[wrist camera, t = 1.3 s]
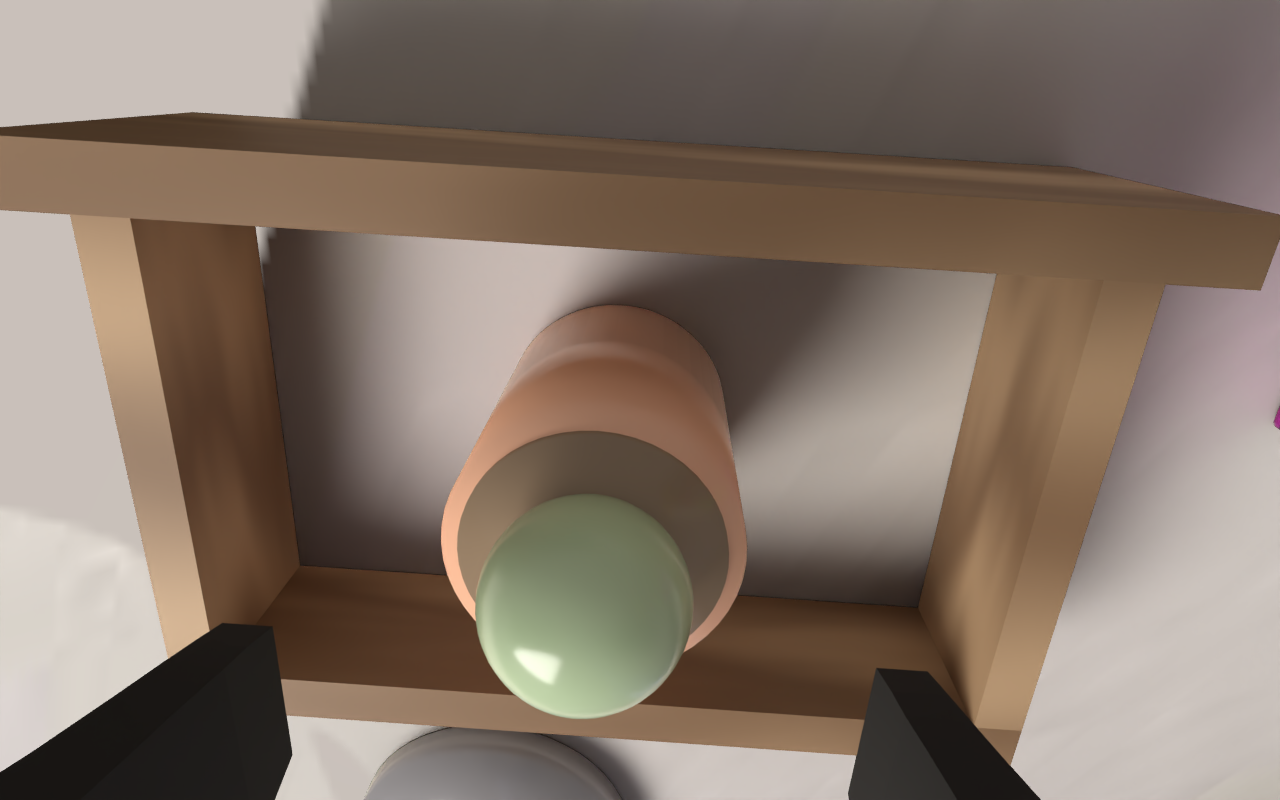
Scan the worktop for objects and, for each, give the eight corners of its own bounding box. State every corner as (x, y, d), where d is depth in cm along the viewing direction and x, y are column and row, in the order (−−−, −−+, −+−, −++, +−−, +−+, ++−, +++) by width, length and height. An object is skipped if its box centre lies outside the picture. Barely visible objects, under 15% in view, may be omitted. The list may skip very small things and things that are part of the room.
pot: (713, 508, 19) (745, 831, 11) (510, 494, 19) (393, 805, 11) (734, 312, 17) (791, 526, 9) (509, 297, 17) (365, 497, 9)
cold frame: (948, 641, 20) (1052, 851, 15) (266, 594, 21) (119, 784, 15) (1072, 167, 16) (1287, 216, 10) (192, 112, 16) (-59, 131, 11)
